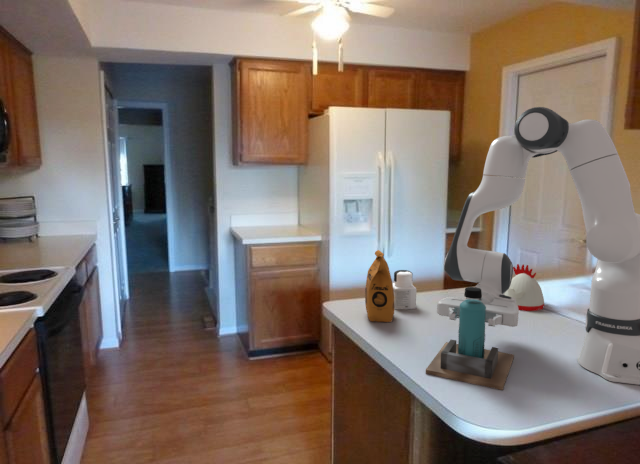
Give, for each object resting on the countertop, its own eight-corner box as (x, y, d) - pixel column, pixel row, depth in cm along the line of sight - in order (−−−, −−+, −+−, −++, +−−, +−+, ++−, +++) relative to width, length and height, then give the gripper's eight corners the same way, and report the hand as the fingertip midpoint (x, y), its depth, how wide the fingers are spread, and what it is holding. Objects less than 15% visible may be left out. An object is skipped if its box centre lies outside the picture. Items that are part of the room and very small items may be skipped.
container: (389, 303, 172) (390, 268, 170) (409, 302, 173) (410, 268, 171) (395, 309, 164) (395, 274, 162) (416, 308, 165) (417, 273, 163)
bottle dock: (513, 358, 124) (514, 340, 123) (502, 390, 106) (503, 369, 106) (445, 345, 132) (446, 328, 132) (425, 373, 115) (426, 354, 114)
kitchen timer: (512, 297, 179) (515, 259, 176) (549, 305, 169) (552, 264, 166) (495, 304, 169) (497, 264, 167) (533, 313, 159) (536, 271, 157)
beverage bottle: (485, 371, 114) (489, 292, 111) (457, 369, 115) (460, 291, 112) (482, 360, 120) (486, 285, 117) (455, 358, 121) (458, 284, 118)
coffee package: (363, 322, 152) (364, 256, 148) (365, 310, 164) (365, 249, 160) (394, 323, 150) (396, 257, 147) (393, 311, 162) (394, 249, 159)
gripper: (444, 288, 132) (430, 301, 120) (522, 298, 122) (515, 314, 110) (443, 310, 133) (429, 325, 121) (520, 321, 123) (514, 339, 111)
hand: (471, 320), depth 115 cm, fingers open, 8 cm apart
